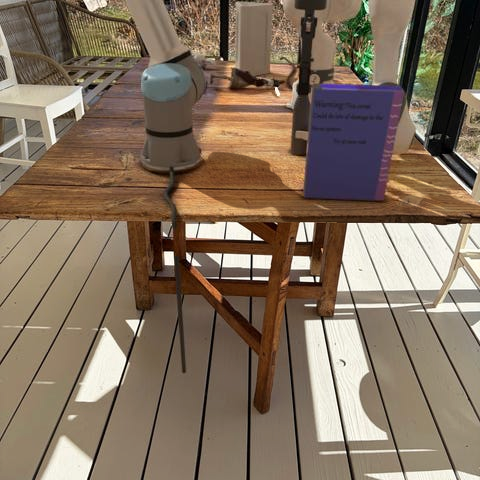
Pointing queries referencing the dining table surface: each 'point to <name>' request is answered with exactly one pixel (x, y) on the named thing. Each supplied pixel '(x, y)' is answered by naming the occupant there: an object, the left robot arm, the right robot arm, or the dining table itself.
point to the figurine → (246, 79)
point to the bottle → (300, 124)
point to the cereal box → (351, 141)
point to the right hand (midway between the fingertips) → (297, 130)
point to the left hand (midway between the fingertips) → (303, 91)
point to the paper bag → (253, 37)
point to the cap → (309, 88)
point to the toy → (202, 59)
